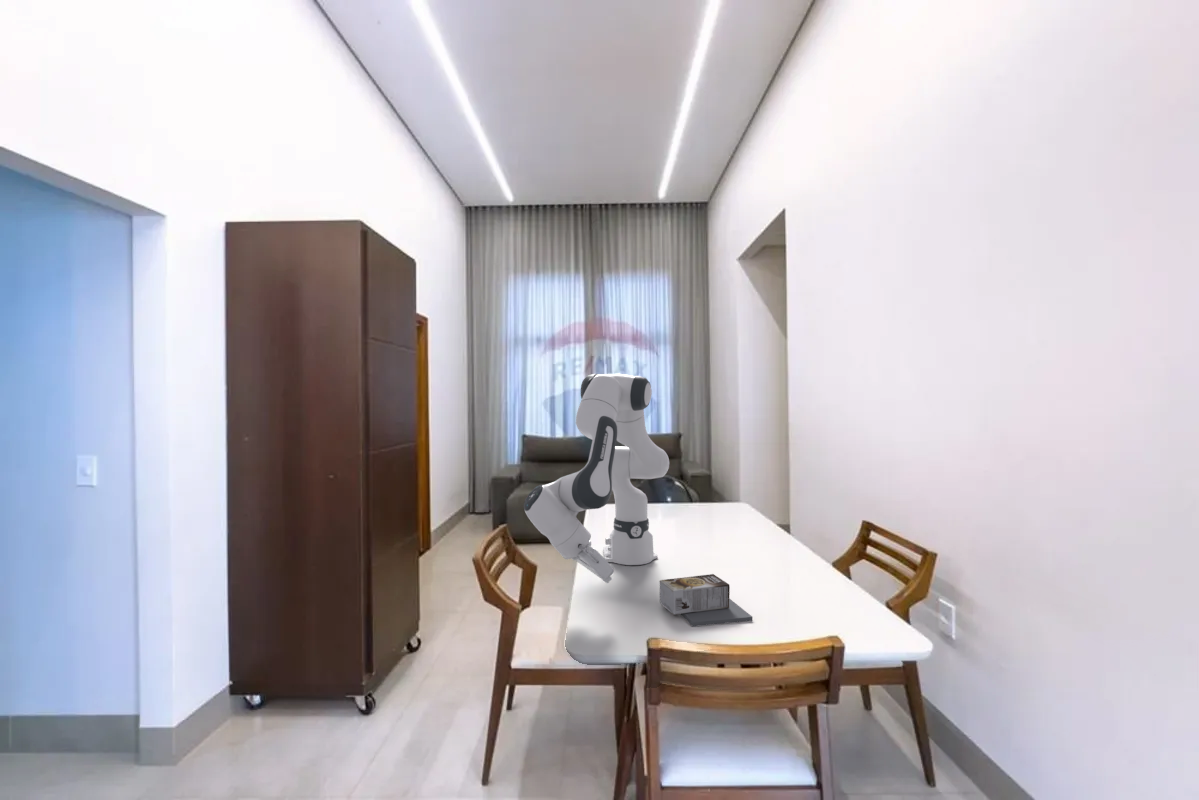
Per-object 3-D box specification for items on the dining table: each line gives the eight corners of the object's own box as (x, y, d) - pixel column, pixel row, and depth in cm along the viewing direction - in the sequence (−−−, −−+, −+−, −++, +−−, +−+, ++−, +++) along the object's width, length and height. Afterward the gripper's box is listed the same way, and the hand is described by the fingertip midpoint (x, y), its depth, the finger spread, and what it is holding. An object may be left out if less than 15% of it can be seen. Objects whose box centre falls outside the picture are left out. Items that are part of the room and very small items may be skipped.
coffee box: (659, 579, 145) (712, 573, 150) (659, 603, 145) (712, 596, 150) (673, 590, 136) (730, 583, 141) (673, 615, 136) (730, 608, 141)
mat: (667, 599, 150) (667, 596, 150) (721, 595, 154) (721, 591, 154) (692, 626, 133) (692, 622, 132) (752, 620, 136) (752, 616, 136)
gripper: (596, 539, 127) (633, 580, 129) (570, 525, 146) (602, 561, 148) (577, 560, 125) (614, 601, 127) (553, 542, 144) (585, 578, 146)
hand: (607, 579), depth 138 cm, fingers closed
